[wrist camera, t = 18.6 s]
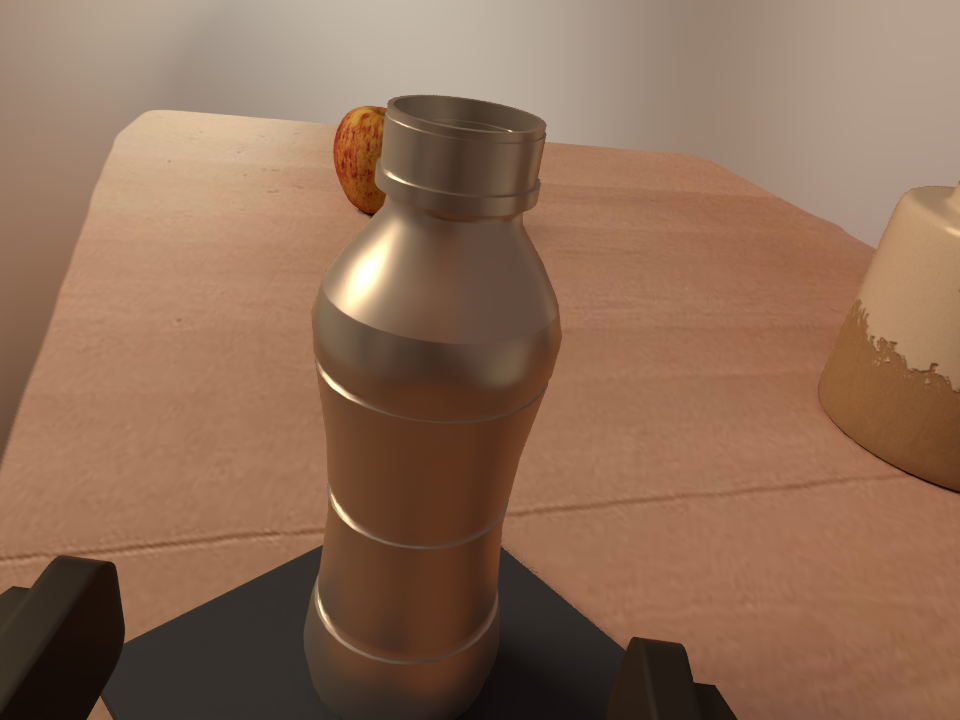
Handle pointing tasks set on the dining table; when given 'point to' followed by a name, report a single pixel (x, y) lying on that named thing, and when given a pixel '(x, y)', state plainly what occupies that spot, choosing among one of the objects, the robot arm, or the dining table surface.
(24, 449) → the dining table surface
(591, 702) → the mat
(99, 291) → the dining table surface
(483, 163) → the silver metal bottle
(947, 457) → the vase
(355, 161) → the apple
